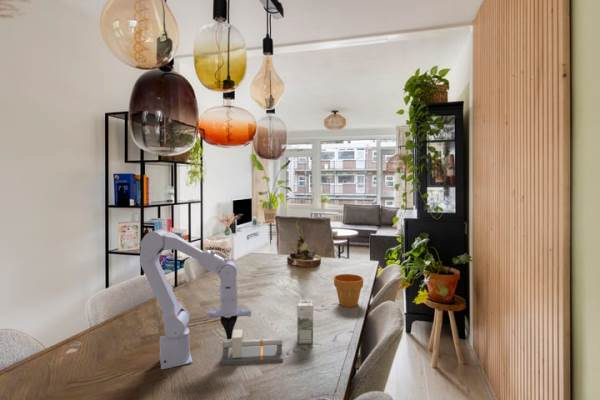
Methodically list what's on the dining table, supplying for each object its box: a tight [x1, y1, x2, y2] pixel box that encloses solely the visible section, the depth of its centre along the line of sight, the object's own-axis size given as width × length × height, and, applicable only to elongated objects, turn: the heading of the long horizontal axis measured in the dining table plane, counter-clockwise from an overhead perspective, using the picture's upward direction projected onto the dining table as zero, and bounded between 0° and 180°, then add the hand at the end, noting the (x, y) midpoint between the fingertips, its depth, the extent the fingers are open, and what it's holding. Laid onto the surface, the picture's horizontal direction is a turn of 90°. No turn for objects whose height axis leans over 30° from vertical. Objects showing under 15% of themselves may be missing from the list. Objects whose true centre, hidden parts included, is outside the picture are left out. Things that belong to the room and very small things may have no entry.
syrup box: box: [296, 300, 314, 345], centre depth 123 cm, size 6×6×14 cm
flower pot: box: [333, 273, 364, 308], centre depth 161 cm, size 14×14×13 cm
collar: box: [231, 329, 244, 358], centre depth 111 cm, size 3×6×7 cm, turn 6°
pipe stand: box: [220, 338, 284, 366], centre depth 112 cm, size 20×9×6 cm, turn 96°
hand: (229, 337), depth 111 cm, fingers closed
